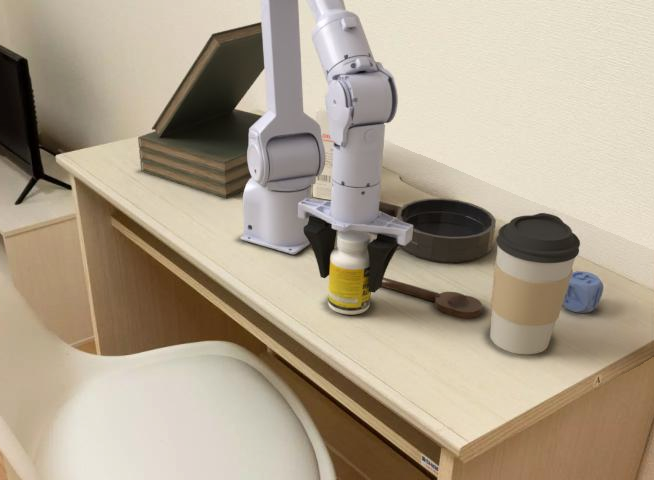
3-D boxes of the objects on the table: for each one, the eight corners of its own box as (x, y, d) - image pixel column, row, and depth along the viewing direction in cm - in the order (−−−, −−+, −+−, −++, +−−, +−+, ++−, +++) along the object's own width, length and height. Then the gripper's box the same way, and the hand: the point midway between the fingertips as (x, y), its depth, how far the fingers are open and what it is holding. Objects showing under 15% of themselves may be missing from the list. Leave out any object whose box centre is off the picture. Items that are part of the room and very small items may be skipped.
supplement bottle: (367, 318, 99) (372, 247, 93) (324, 313, 100) (327, 242, 94) (372, 297, 103) (378, 228, 98) (331, 292, 104) (334, 223, 99)
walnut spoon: (342, 282, 106) (342, 274, 106) (357, 269, 110) (357, 262, 109) (473, 321, 99) (475, 313, 98) (486, 306, 102) (487, 298, 101)
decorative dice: (585, 316, 100) (592, 289, 98) (556, 305, 102) (562, 278, 100) (599, 305, 103) (606, 278, 101) (571, 294, 105) (577, 267, 103)
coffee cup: (543, 368, 90) (569, 249, 82) (469, 344, 94) (487, 228, 86) (567, 333, 97) (593, 219, 89) (496, 312, 101) (515, 201, 93)
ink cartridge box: (370, 195, 132) (376, 107, 124) (360, 206, 128) (366, 115, 120) (322, 187, 135) (325, 100, 127) (311, 197, 131) (313, 108, 123)
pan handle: (344, 206, 123) (345, 196, 122) (349, 203, 124) (350, 192, 123) (399, 220, 119) (400, 209, 118) (404, 216, 120) (405, 205, 119)
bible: (226, 138, 155) (222, 1, 142) (307, 160, 146) (311, 16, 132) (140, 171, 139) (126, 20, 126) (225, 198, 130) (220, 38, 116)
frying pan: (378, 248, 115) (380, 223, 113) (418, 215, 126) (420, 191, 124) (471, 273, 110) (475, 247, 107) (504, 236, 120) (509, 211, 118)
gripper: (285, 176, 92) (284, 279, 100) (398, 203, 86) (388, 311, 94) (315, 158, 98) (312, 258, 105) (424, 183, 91) (413, 287, 99)
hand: (350, 281), depth 100 cm, fingers open, 6 cm apart
